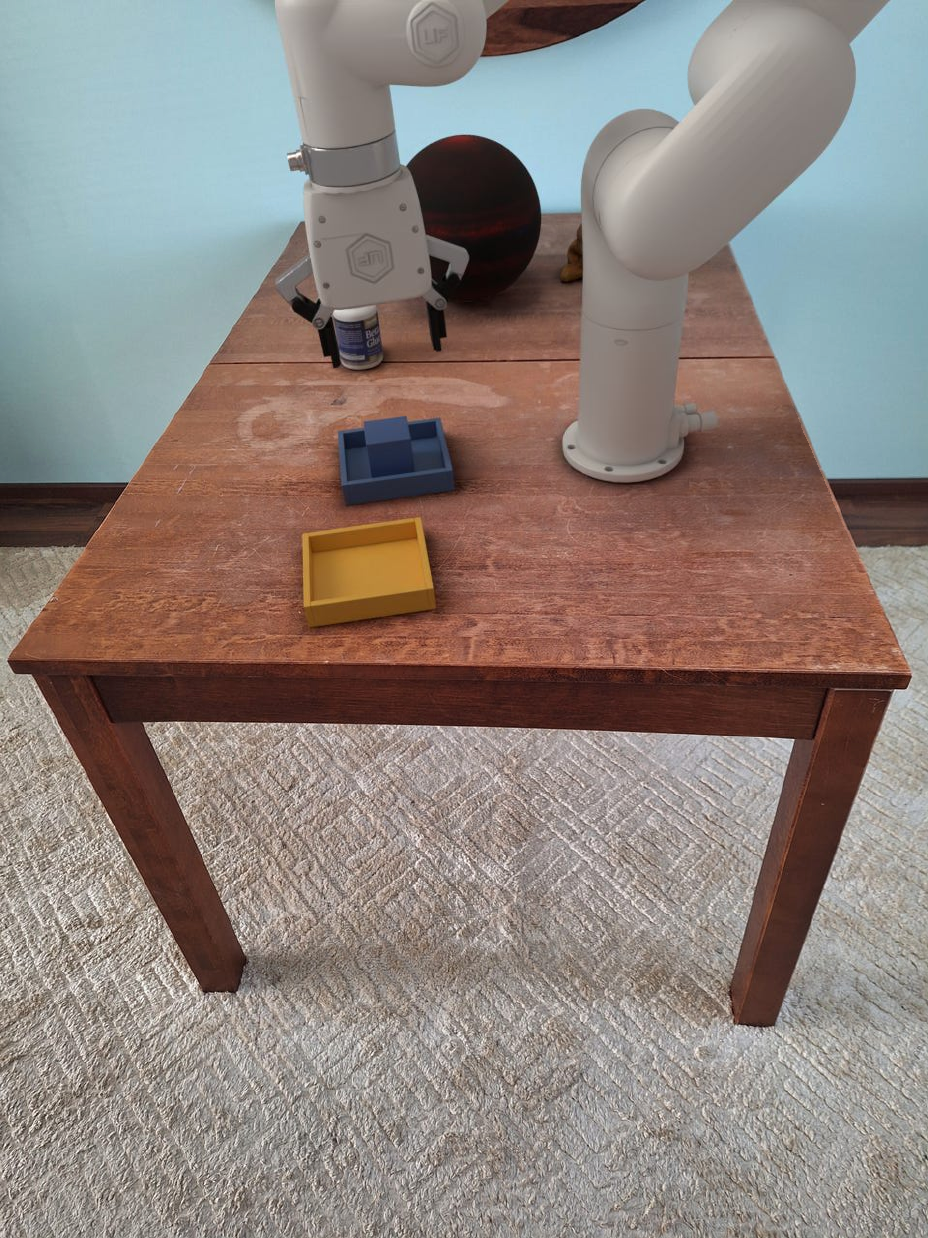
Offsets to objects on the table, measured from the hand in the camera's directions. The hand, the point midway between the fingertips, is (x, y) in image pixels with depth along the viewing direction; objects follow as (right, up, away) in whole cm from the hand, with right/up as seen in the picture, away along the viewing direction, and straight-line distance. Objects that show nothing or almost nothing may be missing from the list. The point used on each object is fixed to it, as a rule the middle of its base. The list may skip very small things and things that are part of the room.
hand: (386, 353), depth 82 cm
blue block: (0, -9, +9) cm, 13 cm away
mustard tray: (-1, -22, -3) cm, 22 cm away
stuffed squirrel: (+27, +26, +43) cm, 57 cm away
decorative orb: (+8, +20, +39) cm, 44 cm away
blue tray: (0, -9, +9) cm, 13 cm away
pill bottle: (-5, +7, +27) cm, 29 cm away
